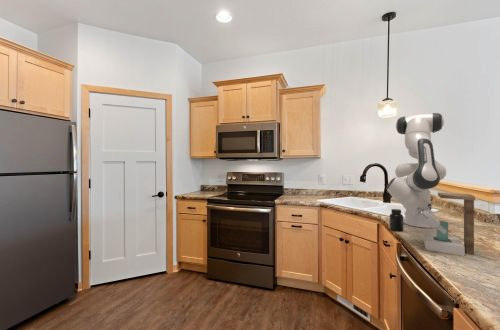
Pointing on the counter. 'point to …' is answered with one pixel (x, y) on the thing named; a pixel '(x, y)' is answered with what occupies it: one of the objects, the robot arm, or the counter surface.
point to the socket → (444, 245)
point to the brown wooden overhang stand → (465, 218)
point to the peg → (440, 235)
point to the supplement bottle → (396, 220)
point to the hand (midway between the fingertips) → (444, 230)
